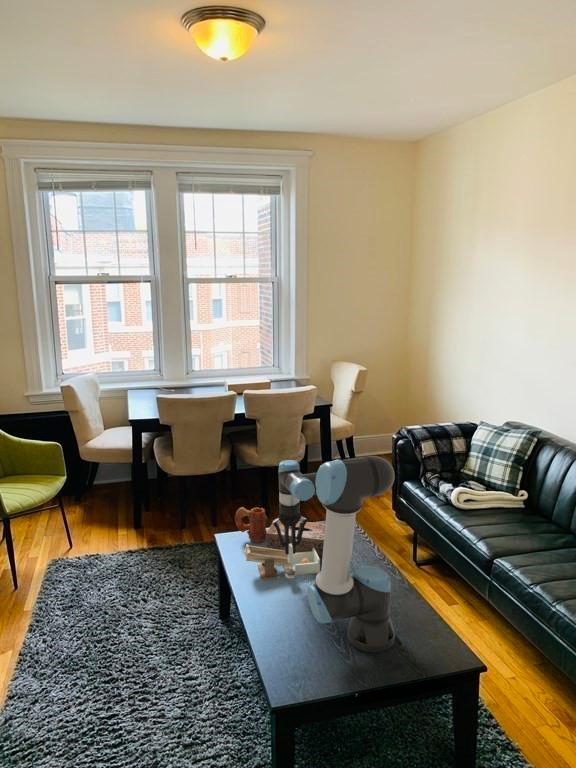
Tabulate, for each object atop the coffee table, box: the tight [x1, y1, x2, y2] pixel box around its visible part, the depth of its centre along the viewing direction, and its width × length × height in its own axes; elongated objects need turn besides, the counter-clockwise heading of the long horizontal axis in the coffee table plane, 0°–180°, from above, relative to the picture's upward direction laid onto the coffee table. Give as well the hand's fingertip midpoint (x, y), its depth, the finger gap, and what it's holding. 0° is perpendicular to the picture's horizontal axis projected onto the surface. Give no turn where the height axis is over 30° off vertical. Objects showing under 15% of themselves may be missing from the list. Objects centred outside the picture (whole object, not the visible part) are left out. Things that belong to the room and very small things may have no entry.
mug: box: [234, 506, 269, 544], centre depth 246 cm, size 15×8×15 cm, turn 84°
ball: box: [301, 558, 310, 564], centre depth 223 cm, size 4×4×4 cm
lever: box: [244, 543, 295, 579], centre depth 216 cm, size 16×18×3 cm
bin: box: [291, 548, 321, 577], centre depth 223 cm, size 10×11×6 cm
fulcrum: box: [257, 560, 280, 581], centre depth 220 cm, size 10×7×7 cm
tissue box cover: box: [265, 517, 325, 563], centre depth 237 cm, size 26×14×10 cm, turn 75°
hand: (290, 561), depth 210 cm, fingers closed
